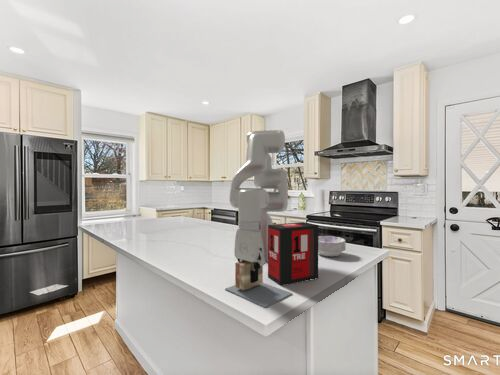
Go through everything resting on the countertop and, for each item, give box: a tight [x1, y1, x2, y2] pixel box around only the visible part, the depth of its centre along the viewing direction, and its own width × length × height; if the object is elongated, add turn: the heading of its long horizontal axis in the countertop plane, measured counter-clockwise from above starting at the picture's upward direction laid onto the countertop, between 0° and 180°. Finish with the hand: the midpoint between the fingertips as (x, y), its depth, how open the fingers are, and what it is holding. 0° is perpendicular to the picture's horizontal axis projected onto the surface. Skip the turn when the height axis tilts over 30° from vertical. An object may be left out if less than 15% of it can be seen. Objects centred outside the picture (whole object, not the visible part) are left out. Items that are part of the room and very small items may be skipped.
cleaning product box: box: [267, 221, 319, 287], centre depth 99 cm, size 16×9×20 cm, turn 115°
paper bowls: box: [318, 235, 347, 258], centre depth 132 cm, size 15×15×8 cm
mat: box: [224, 282, 293, 309], centre depth 86 cm, size 18×13×1 cm
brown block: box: [234, 260, 264, 290], centre depth 89 cm, size 4×9×8 cm, turn 135°
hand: (249, 279), depth 89 cm, fingers closed on brown block, 3 cm apart
